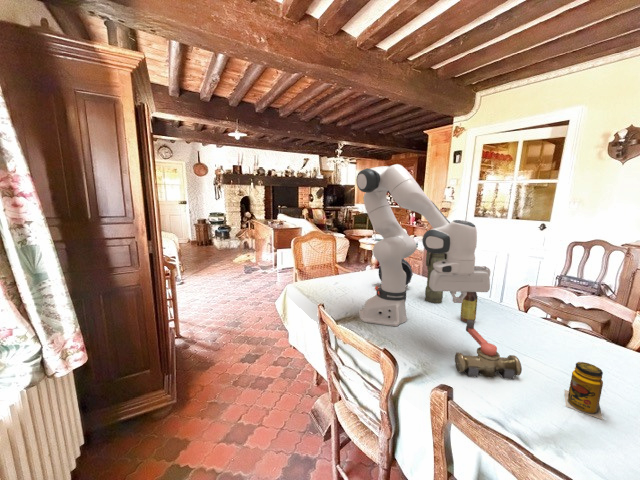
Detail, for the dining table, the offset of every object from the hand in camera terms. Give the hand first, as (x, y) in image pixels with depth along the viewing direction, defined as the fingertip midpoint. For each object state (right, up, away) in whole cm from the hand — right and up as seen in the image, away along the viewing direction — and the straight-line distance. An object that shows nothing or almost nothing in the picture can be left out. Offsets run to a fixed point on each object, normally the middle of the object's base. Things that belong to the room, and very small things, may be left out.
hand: (457, 302), depth 98 cm
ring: (-4, -8, +70) cm, 70 cm away
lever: (+5, -13, -5) cm, 14 cm away
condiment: (+23, -24, -23) cm, 40 cm away
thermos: (+13, -11, +50) cm, 53 cm away
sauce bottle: (+19, -15, +27) cm, 36 cm away
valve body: (+5, -21, -9) cm, 23 cm away
